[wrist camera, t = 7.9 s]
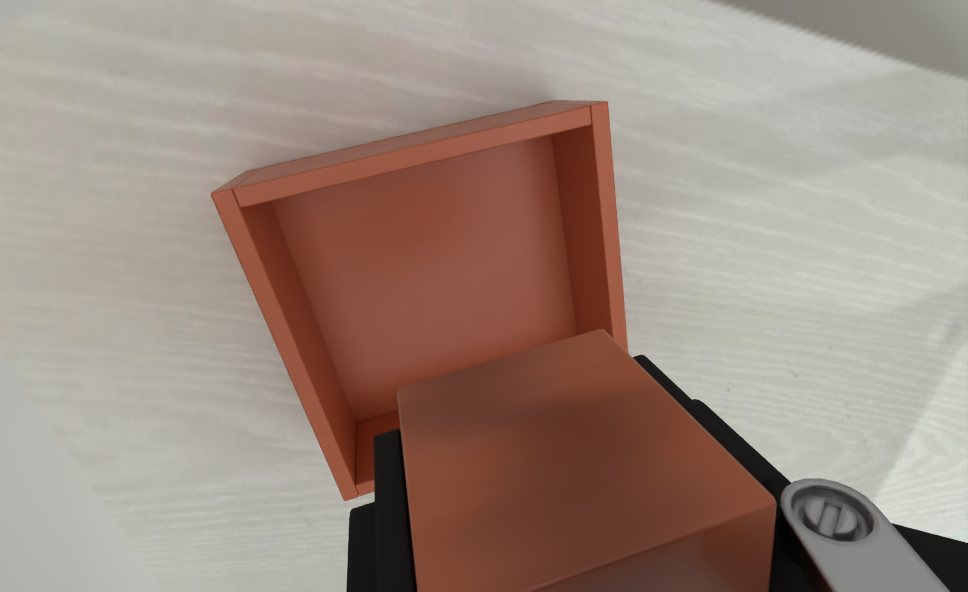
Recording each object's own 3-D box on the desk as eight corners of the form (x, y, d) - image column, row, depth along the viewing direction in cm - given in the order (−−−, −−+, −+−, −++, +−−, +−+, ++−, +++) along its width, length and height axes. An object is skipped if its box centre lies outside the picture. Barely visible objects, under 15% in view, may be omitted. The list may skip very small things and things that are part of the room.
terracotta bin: (347, 429, 23) (343, 502, 19) (244, 171, 18) (209, 193, 14) (588, 356, 24) (633, 408, 20) (556, 100, 19) (608, 100, 15)
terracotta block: (445, 539, 12) (494, 811, 7) (395, 386, 10) (419, 628, 5) (618, 481, 12) (762, 700, 8) (602, 326, 11) (780, 499, 6)
